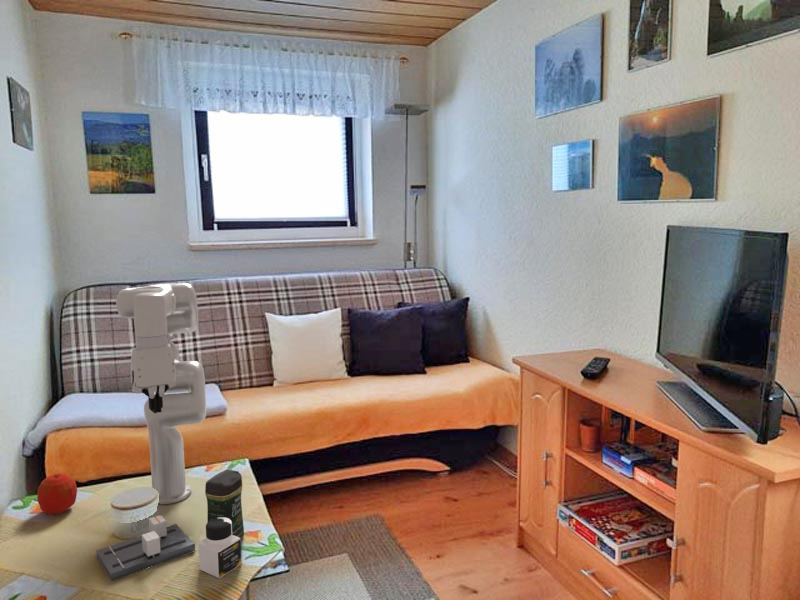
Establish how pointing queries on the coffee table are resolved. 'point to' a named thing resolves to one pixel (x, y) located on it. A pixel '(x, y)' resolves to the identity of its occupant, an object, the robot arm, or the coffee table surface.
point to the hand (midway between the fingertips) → (156, 411)
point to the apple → (57, 494)
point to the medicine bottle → (219, 548)
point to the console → (142, 553)
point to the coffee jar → (226, 499)
